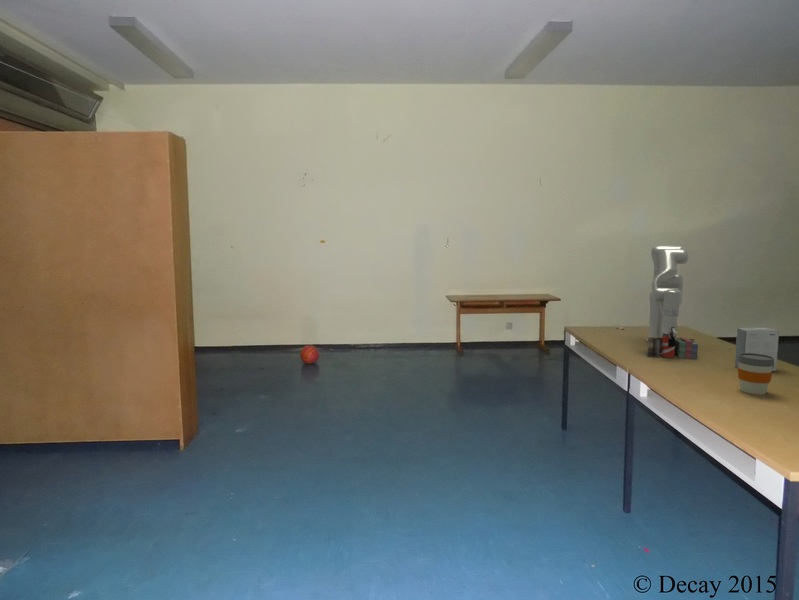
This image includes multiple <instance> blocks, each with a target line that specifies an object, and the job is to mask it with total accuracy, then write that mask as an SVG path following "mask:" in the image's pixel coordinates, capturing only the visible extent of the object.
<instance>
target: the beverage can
mask: <svg viewBox="0 0 799 600" xmlns="http://www.w3.org/2000/svg"><path fill="white" fill-rule="evenodd" d="M668 340H669V334H668V335H666V334H664V336H663V340H662V354H661V357H662V358H665V357H667V358H666V359H673V358H674V357H675V355H674V353H675V347H669V346H668Z"/></svg>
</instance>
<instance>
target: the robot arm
mask: <svg viewBox="0 0 799 600" xmlns="http://www.w3.org/2000/svg"><path fill="white" fill-rule="evenodd" d="M650 251H651V252H650V253H651V254H650V255H651V260H652V262H653V266H654V267H653V279H652V282H651V292H650V293H649V298H648V299H649V326H648V337H663V336H664V334H666V335H668V334H669V340H668V346H669V347H675V339H676V338H677V337H676V336H677V332H678V317H679V315H680V306H681V304H682V301H683V292H684V291H683V289H684V277H683V275H682V274H680V273H678V268H677V265H678V264H679V265H684V264H687V263H688V260H689V252H688V250H687V249H686V247H685V246H684V245H668V244H667V245H663V244H661V245H655V246H653V247H652V248H651V250H650ZM648 337H646V338H645V341H646V342H647V343H648Z"/></svg>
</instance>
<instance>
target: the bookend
mask: <svg viewBox="0 0 799 600" xmlns="http://www.w3.org/2000/svg"><path fill="white" fill-rule="evenodd" d="M659 351H660V341H659V340H658V339H656V338H655V337H654V338H653V353H650V352H647V351H646V352H645V351H643V352H642V354H643V355H644V356H646V357H647V358H657V357H659V358H660V354H659Z"/></svg>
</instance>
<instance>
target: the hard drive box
mask: <svg viewBox="0 0 799 600" xmlns="http://www.w3.org/2000/svg"><path fill="white" fill-rule="evenodd" d="M779 337H780V331H779V330H777V329H774V328H769V327H737V328H736V340H735V341H736V343H735V356H734V357H735V358H734V367H735V368H737V369H738V367H739V363H738V356H739V354H741V353H754V354H762V355H767V356H771V357H773V358H774V366H773V368H772V371H773V372H776V371H777V362H778V350H779V339H780V338H779Z"/></svg>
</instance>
